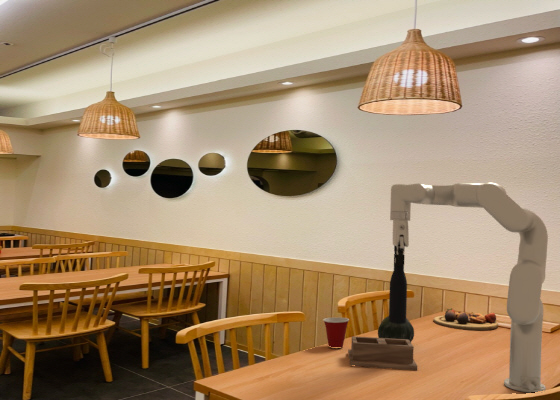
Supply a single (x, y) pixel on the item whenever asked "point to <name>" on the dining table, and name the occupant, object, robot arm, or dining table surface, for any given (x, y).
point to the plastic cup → (336, 331)
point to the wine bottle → (398, 294)
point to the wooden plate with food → (467, 320)
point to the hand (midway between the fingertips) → (398, 264)
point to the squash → (395, 330)
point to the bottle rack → (382, 353)
